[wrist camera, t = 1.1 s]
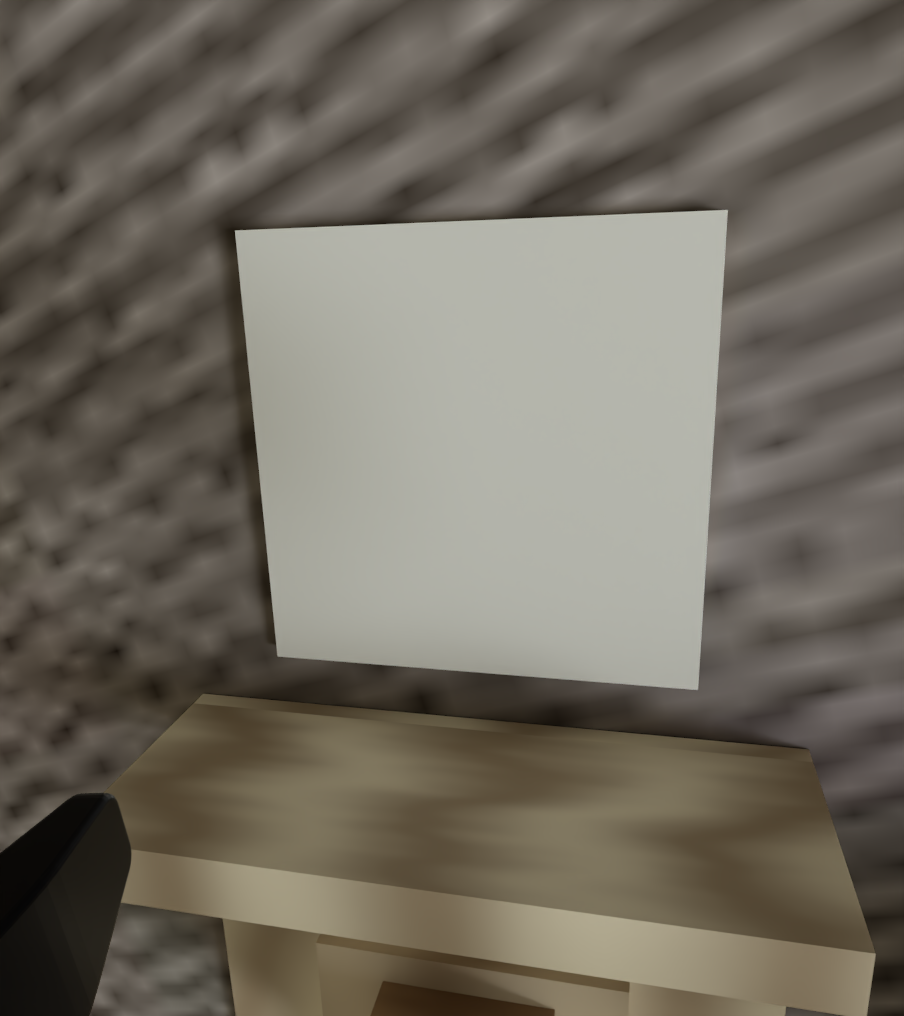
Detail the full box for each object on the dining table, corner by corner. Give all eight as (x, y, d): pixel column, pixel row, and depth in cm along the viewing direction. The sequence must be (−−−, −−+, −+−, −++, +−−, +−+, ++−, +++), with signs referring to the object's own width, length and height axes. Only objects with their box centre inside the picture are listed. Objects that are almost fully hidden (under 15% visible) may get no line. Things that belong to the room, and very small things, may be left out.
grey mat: (725, 210, 19) (727, 210, 18) (696, 678, 22) (697, 690, 22) (245, 231, 22) (234, 230, 21) (286, 647, 25) (277, 656, 25)
